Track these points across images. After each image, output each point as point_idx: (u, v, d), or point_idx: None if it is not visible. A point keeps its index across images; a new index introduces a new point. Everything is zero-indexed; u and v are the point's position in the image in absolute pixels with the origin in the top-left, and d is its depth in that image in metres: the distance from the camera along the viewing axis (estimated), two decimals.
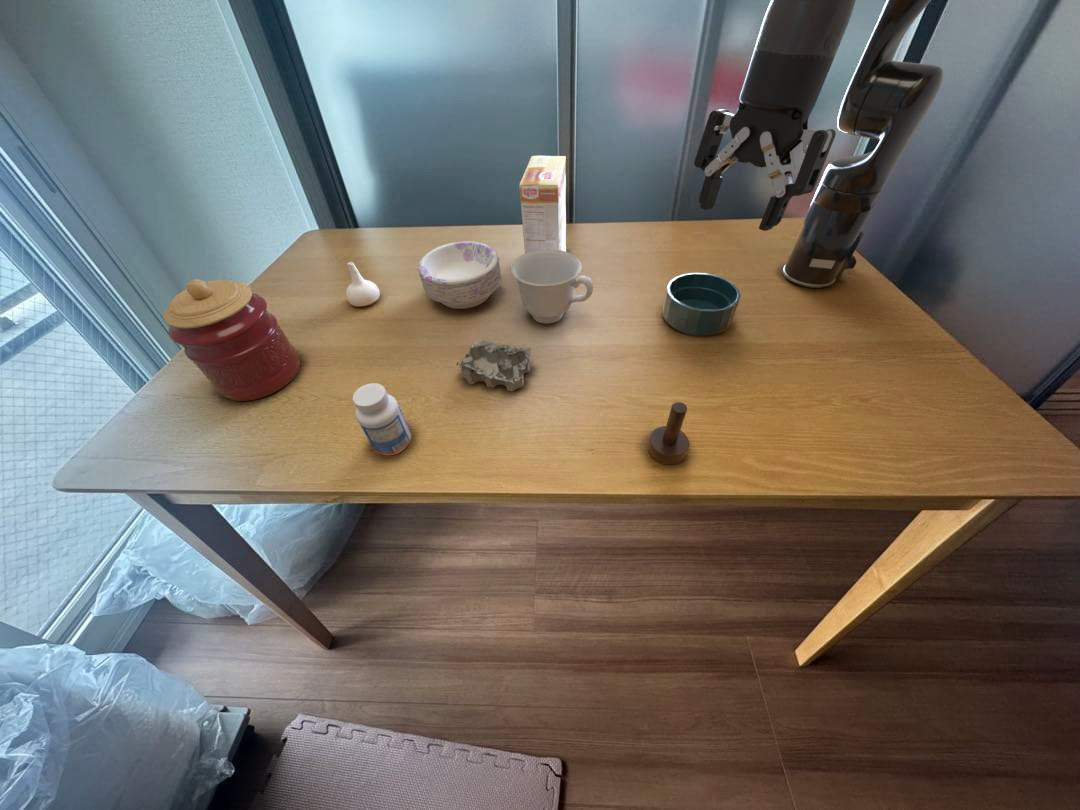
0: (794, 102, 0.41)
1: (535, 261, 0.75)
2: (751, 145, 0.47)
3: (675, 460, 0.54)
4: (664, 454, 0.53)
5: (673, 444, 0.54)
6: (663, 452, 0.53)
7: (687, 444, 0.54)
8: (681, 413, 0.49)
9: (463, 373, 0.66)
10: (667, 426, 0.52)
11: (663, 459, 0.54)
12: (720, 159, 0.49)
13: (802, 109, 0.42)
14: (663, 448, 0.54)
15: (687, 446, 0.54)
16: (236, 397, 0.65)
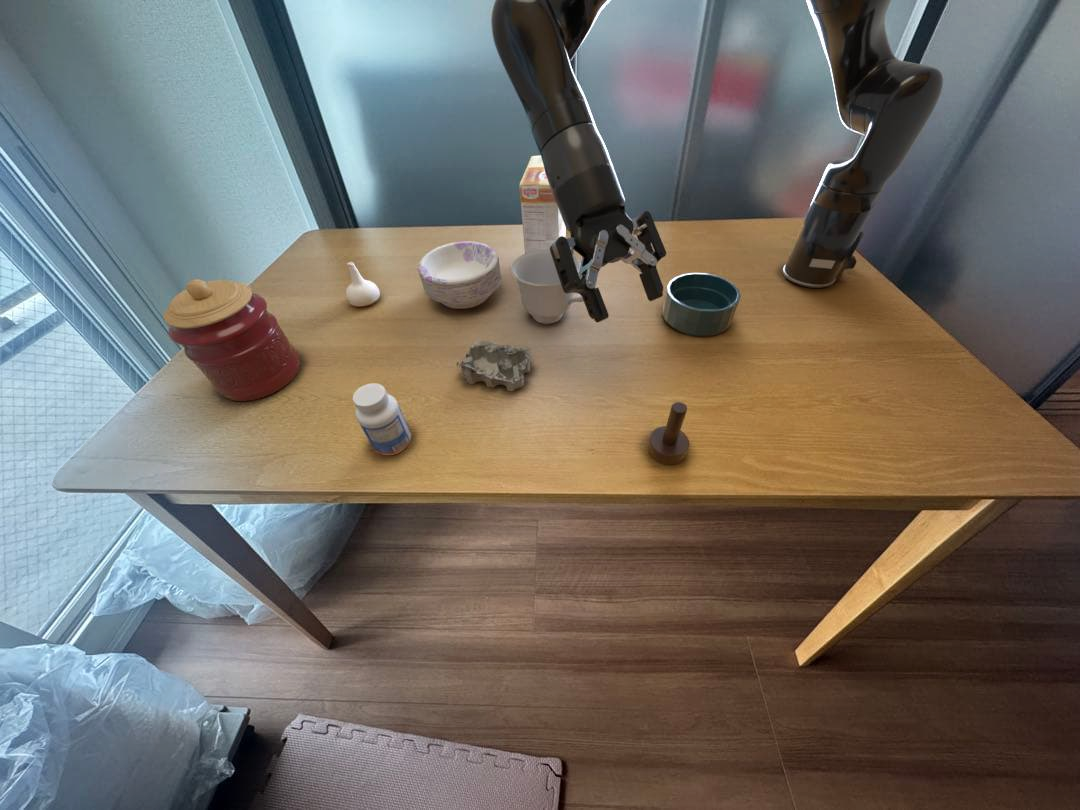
0: (565, 226, 0.51)
1: (535, 261, 0.75)
2: None
3: (675, 460, 0.54)
4: (664, 454, 0.53)
5: (673, 444, 0.54)
6: (663, 452, 0.53)
7: (687, 444, 0.54)
8: (681, 413, 0.49)
9: (463, 373, 0.66)
10: (667, 426, 0.52)
11: (663, 459, 0.54)
12: None
13: (567, 227, 0.50)
14: (663, 448, 0.54)
15: (687, 446, 0.54)
16: (236, 397, 0.65)
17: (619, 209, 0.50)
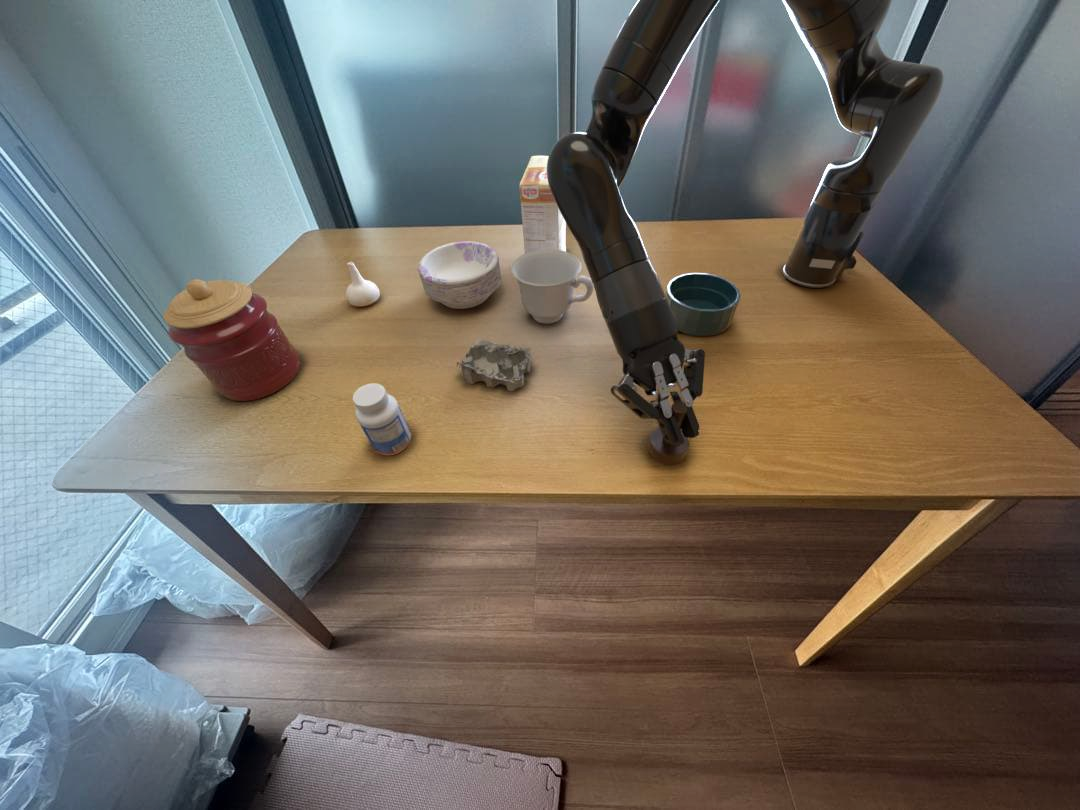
0: None
1: (535, 261, 0.75)
2: None
3: (675, 460, 0.54)
4: (664, 454, 0.53)
5: None
6: (663, 452, 0.53)
7: (687, 444, 0.54)
8: (681, 413, 0.49)
9: (463, 373, 0.66)
10: None
11: (663, 459, 0.54)
12: None
13: (619, 354, 0.50)
14: (663, 448, 0.54)
15: (687, 446, 0.54)
16: (236, 397, 0.65)
17: None
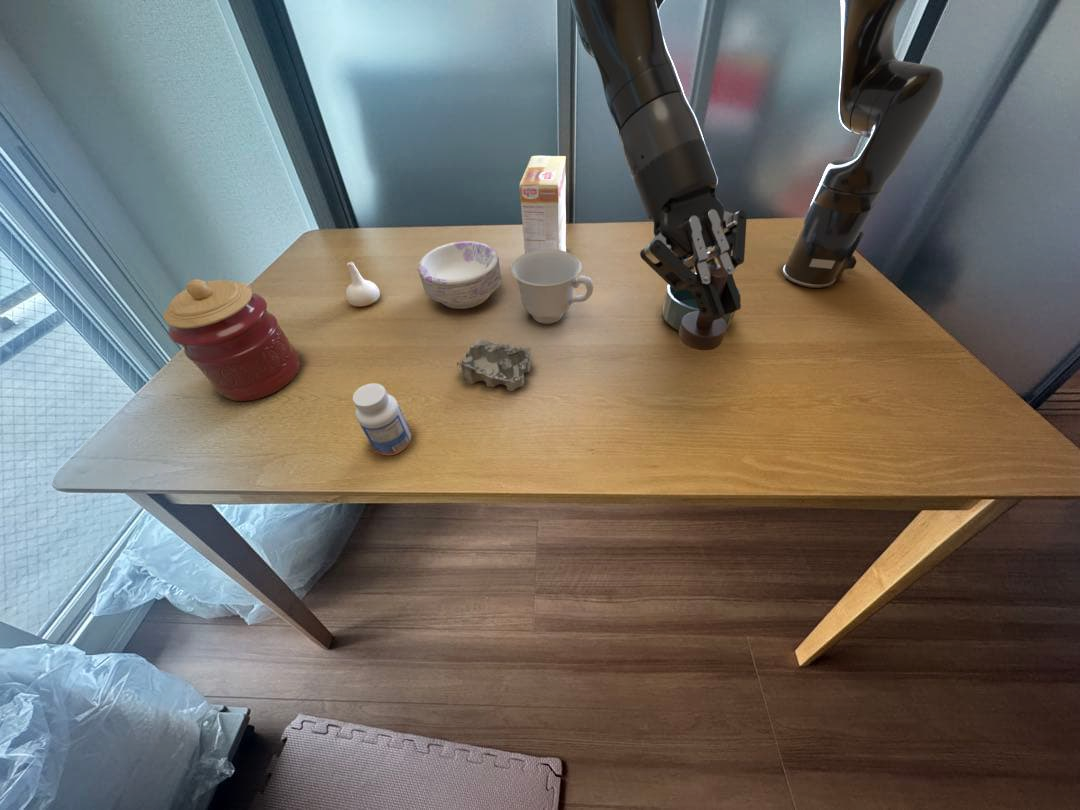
0: None
1: (535, 261, 0.75)
2: None
3: (712, 345, 0.47)
4: (699, 336, 0.47)
5: (709, 325, 0.47)
6: (698, 334, 0.47)
7: (725, 326, 0.48)
8: (722, 278, 0.43)
9: (463, 373, 0.66)
10: None
11: (698, 343, 0.47)
12: None
13: (649, 214, 0.44)
14: (698, 330, 0.47)
15: (725, 328, 0.47)
16: (236, 397, 0.65)
17: (709, 192, 0.44)
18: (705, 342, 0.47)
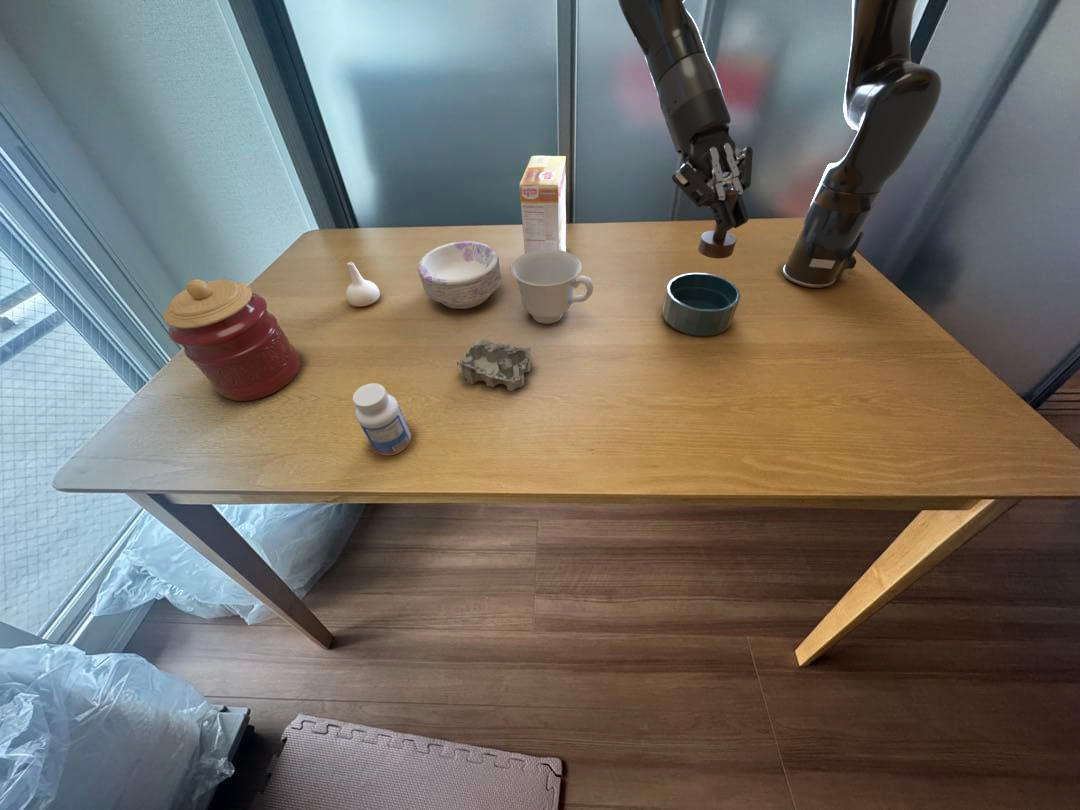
0: (675, 148, 0.59)
1: (535, 261, 0.75)
2: None
3: (725, 253, 0.61)
4: (715, 245, 0.60)
5: (723, 238, 0.61)
6: (714, 244, 0.61)
7: (735, 239, 0.61)
8: (733, 195, 0.57)
9: (463, 373, 0.66)
10: None
11: (714, 252, 0.61)
12: None
13: (678, 148, 0.58)
14: (714, 242, 0.61)
15: (735, 240, 0.61)
16: (236, 397, 0.65)
17: (724, 131, 0.58)
18: (720, 250, 0.61)
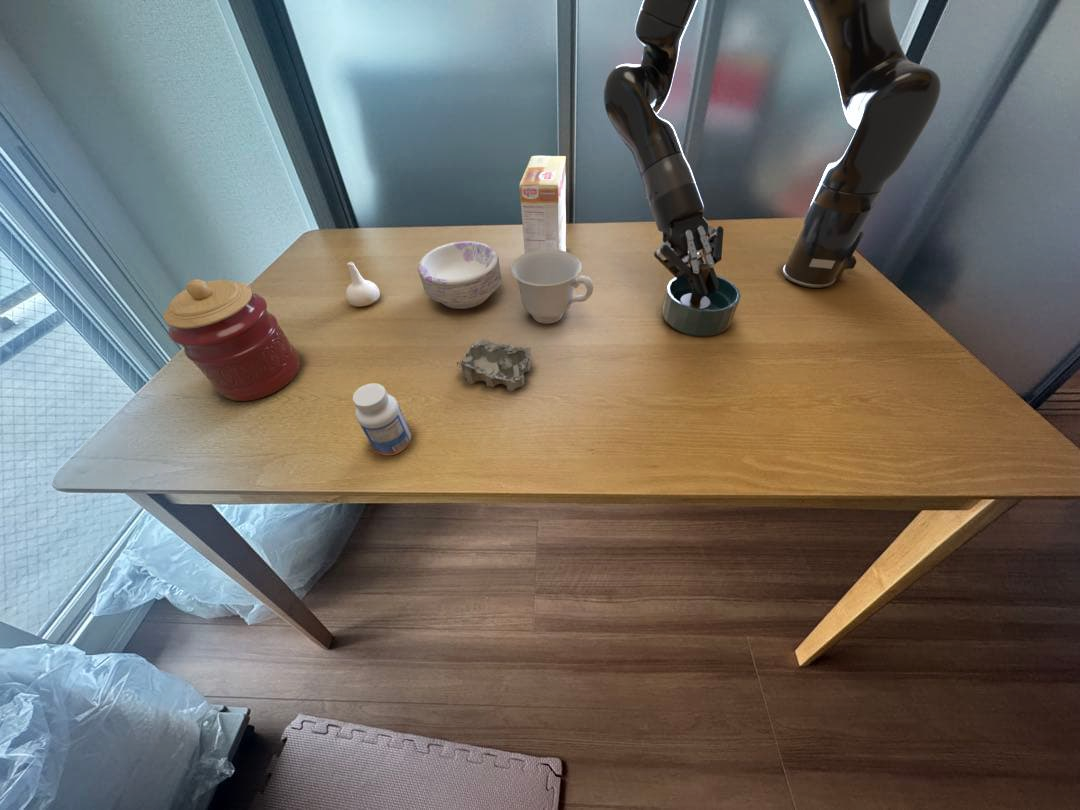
0: (657, 227, 0.69)
1: (535, 261, 0.75)
2: None
3: None
4: None
5: (698, 301, 0.71)
6: None
7: (709, 302, 0.72)
8: (706, 270, 0.67)
9: (463, 372, 0.66)
10: None
11: None
12: None
13: (659, 228, 0.68)
14: (691, 305, 0.71)
15: (709, 303, 0.71)
16: (236, 397, 0.65)
17: (698, 214, 0.68)
18: None
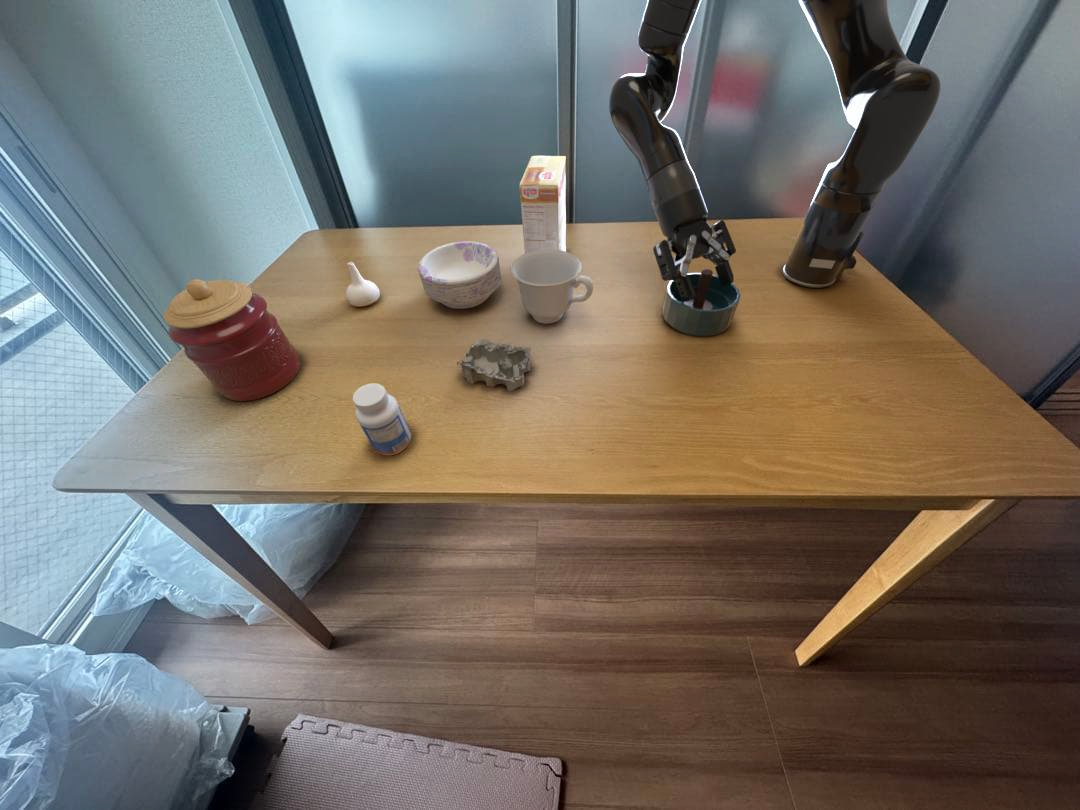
0: (662, 232, 0.70)
1: (535, 261, 0.75)
2: None
3: None
4: None
5: (701, 306, 0.73)
6: None
7: (711, 307, 0.73)
8: (708, 275, 0.68)
9: (463, 372, 0.66)
10: (697, 290, 0.71)
11: None
12: None
13: (664, 233, 0.69)
14: None
15: (711, 308, 0.73)
16: (236, 397, 0.65)
17: (702, 219, 0.69)
18: None
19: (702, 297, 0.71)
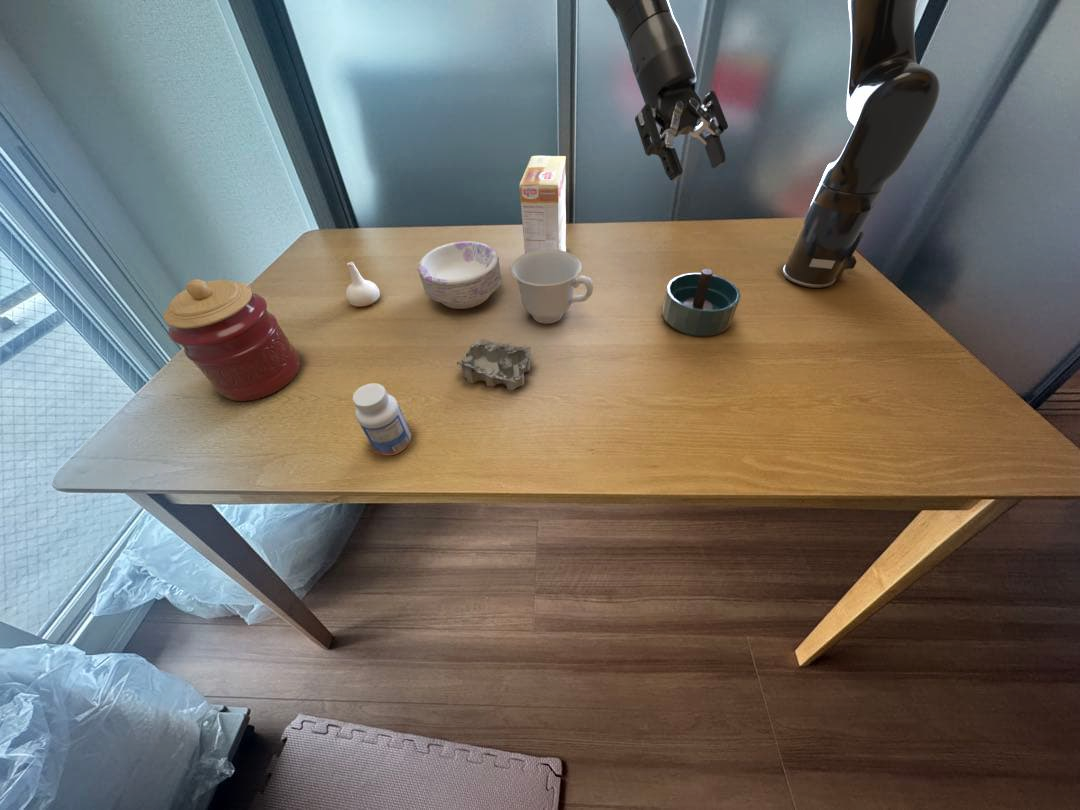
0: (645, 104, 0.63)
1: (535, 261, 0.75)
2: None
3: None
4: None
5: (701, 306, 0.73)
6: None
7: (711, 307, 0.73)
8: (708, 275, 0.68)
9: (463, 372, 0.66)
10: (697, 290, 0.71)
11: None
12: None
13: (648, 103, 0.62)
14: None
15: (711, 308, 0.73)
16: (236, 397, 0.65)
17: (690, 87, 0.62)
18: None
19: (702, 297, 0.71)
